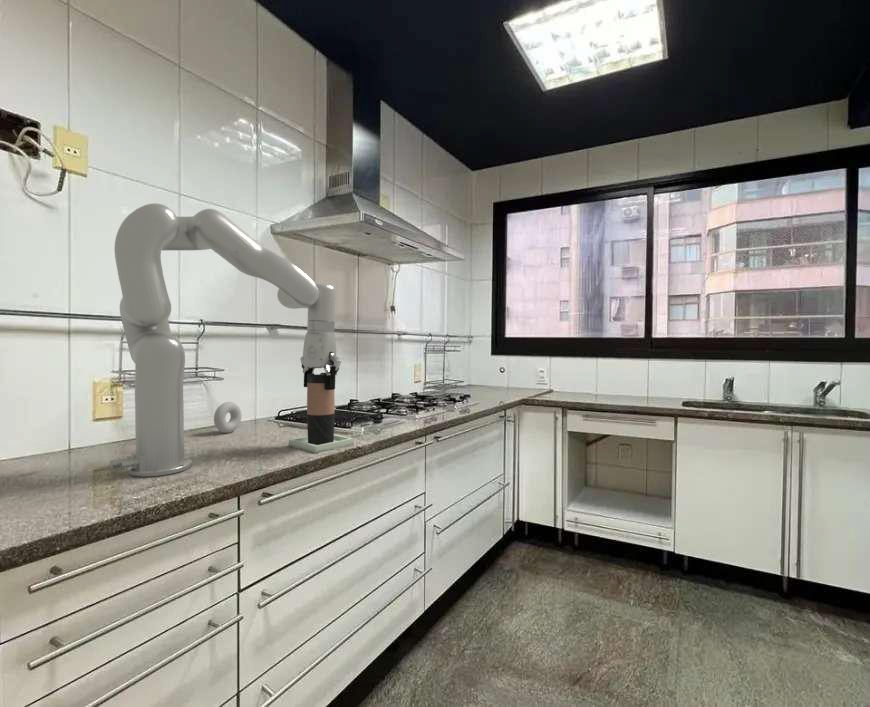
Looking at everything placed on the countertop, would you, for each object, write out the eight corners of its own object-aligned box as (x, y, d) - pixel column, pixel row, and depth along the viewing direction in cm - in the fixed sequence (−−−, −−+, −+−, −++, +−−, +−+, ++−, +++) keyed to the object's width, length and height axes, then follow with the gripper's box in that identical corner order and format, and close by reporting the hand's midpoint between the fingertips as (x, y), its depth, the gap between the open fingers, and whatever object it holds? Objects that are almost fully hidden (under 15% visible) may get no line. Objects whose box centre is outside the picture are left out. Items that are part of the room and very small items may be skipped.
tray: (316, 453, 120) (316, 446, 120) (288, 445, 129) (288, 439, 129) (353, 444, 130) (353, 438, 130) (326, 438, 139) (325, 432, 139)
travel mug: (327, 447, 125) (327, 374, 124) (302, 445, 126) (301, 374, 126) (338, 441, 132) (338, 372, 132) (314, 439, 134) (314, 372, 133)
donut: (236, 429, 151) (235, 399, 151) (244, 430, 150) (243, 400, 150) (211, 435, 142) (211, 403, 142) (219, 436, 141) (219, 404, 140)
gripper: (292, 327, 131) (290, 386, 131) (329, 327, 120) (327, 391, 120) (313, 329, 137) (311, 385, 137) (351, 328, 126) (349, 390, 126)
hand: (319, 388), depth 129 cm, fingers open, 9 cm apart
